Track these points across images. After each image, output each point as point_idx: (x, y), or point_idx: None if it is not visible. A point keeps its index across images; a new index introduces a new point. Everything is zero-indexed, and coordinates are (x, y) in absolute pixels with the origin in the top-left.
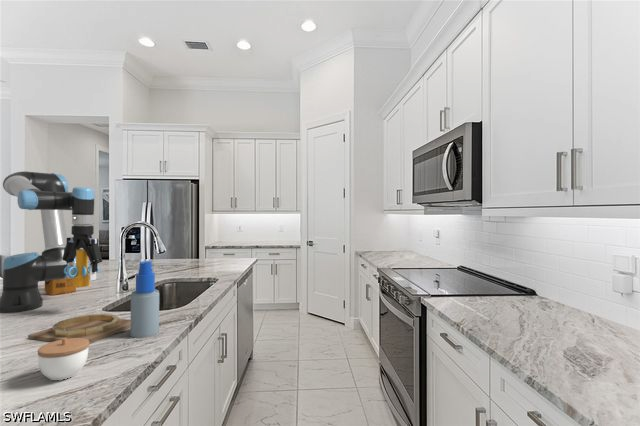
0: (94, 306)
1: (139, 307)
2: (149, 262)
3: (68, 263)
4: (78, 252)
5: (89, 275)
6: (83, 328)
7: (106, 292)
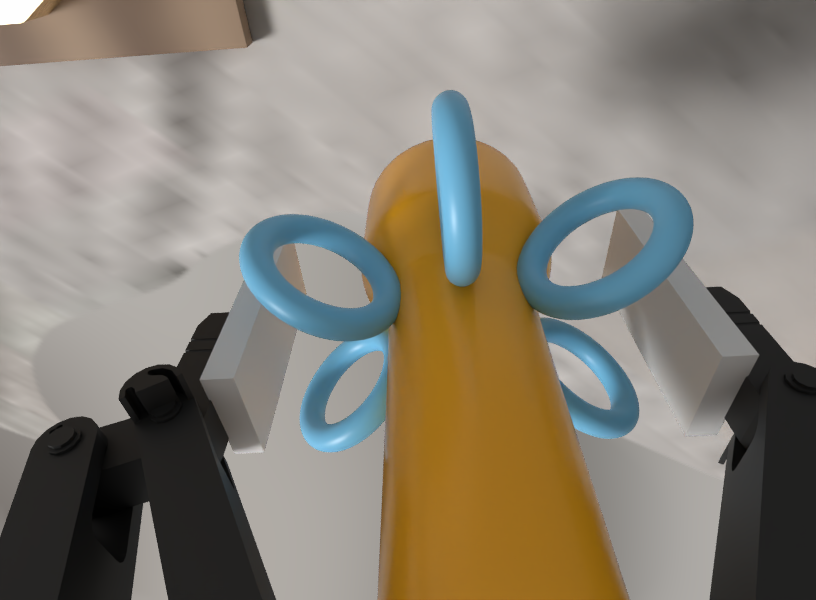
0: None
1: None
2: None
3: (728, 347)
4: (486, 596)
5: None
6: None
7: (668, 449)
